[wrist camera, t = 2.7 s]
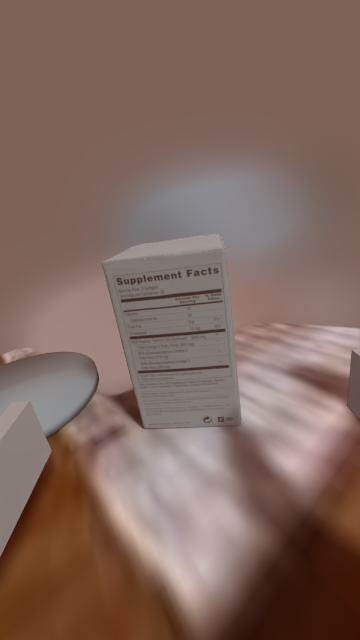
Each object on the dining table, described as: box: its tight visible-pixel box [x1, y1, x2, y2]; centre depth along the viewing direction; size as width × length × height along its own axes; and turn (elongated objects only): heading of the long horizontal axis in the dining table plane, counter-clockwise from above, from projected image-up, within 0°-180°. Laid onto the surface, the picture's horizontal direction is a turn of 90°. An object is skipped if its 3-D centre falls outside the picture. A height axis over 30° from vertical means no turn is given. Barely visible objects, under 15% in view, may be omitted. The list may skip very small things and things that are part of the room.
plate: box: [0, 352, 99, 439], centre depth 26 cm, size 16×16×1 cm
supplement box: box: [102, 234, 241, 429], centre depth 21 cm, size 7×7×13 cm
